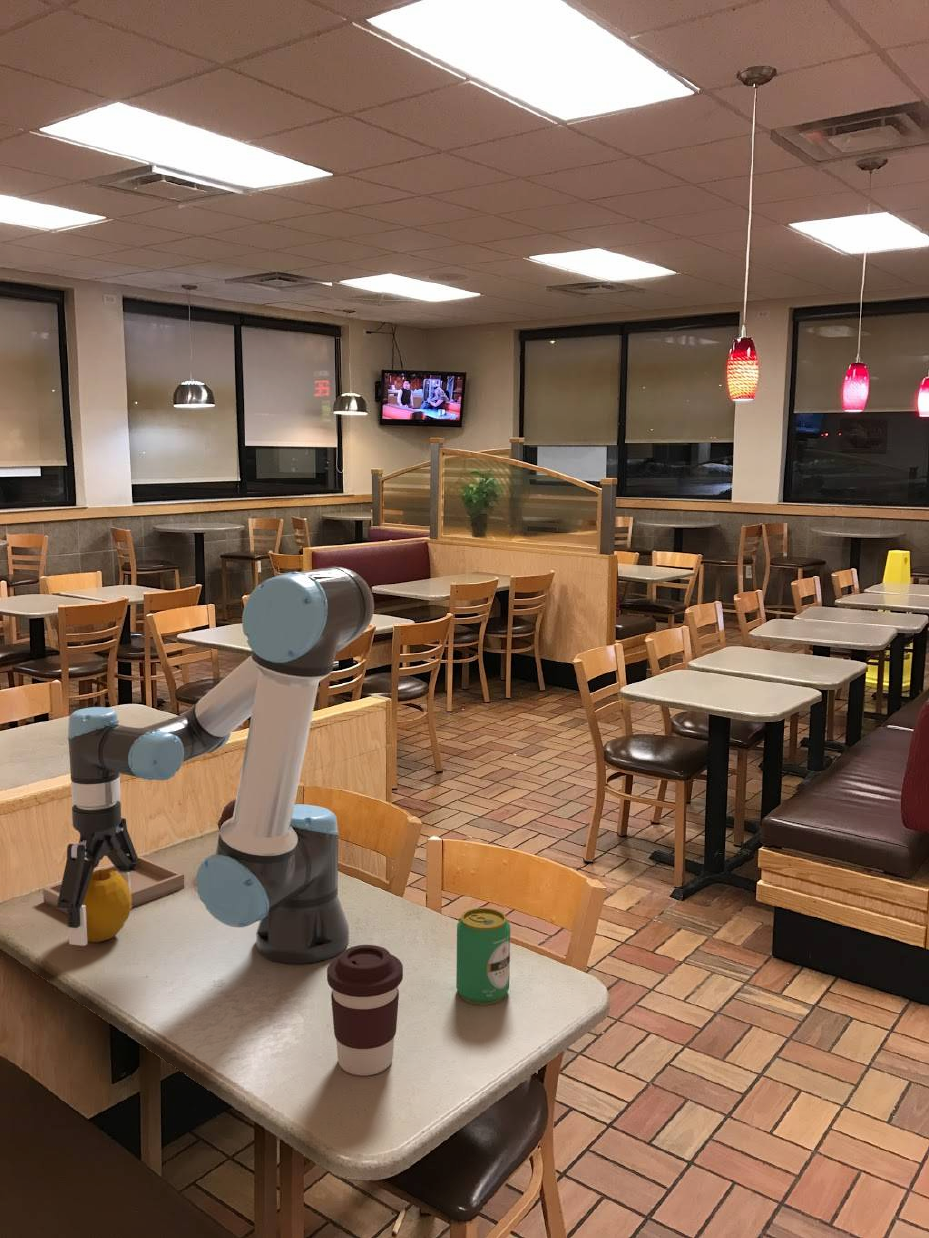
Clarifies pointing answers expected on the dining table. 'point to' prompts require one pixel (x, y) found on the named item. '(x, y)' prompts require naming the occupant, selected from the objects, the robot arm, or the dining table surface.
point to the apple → (106, 905)
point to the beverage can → (483, 956)
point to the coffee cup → (365, 1007)
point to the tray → (135, 883)
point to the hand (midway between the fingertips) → (101, 925)
